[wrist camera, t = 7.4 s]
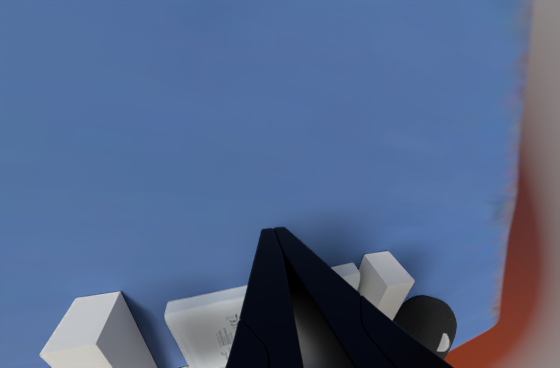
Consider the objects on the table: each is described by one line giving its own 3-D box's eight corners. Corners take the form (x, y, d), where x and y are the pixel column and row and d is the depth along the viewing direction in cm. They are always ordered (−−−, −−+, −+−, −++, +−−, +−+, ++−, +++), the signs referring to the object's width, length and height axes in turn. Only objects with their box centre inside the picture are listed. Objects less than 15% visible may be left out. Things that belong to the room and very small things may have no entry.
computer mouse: (333, 356, 23) (352, 406, 19) (413, 287, 19) (453, 334, 16) (374, 357, 26) (397, 400, 23) (449, 299, 23) (488, 340, 19)
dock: (350, 337, 21) (365, 367, 19) (137, 390, 16) (124, 438, 14) (388, 250, 15) (415, 280, 13) (76, 297, 11) (38, 354, 9)
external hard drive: (335, 316, 19) (196, 354, 17) (349, 256, 15) (169, 293, 13) (344, 336, 18) (193, 379, 16) (362, 274, 14) (162, 320, 11)
